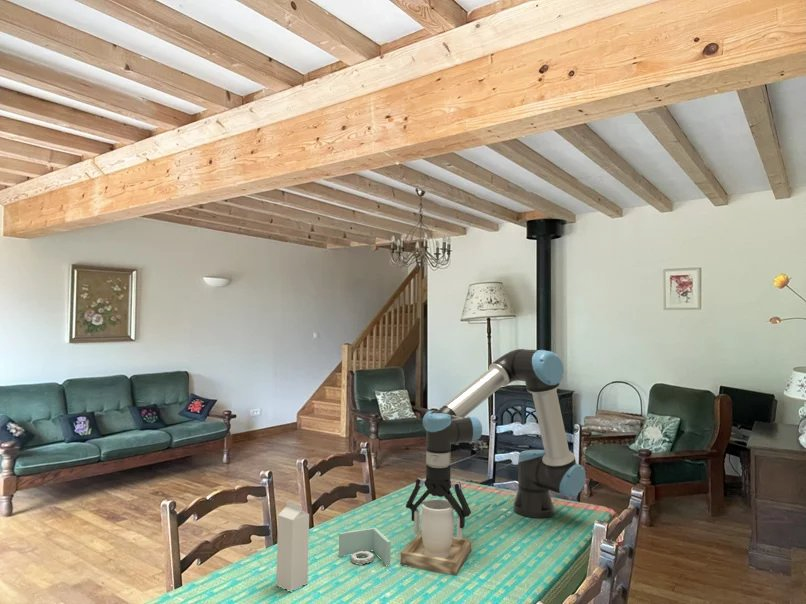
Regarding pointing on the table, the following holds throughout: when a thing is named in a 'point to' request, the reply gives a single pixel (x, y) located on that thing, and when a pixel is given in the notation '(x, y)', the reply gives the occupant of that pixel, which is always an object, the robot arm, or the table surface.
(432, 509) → the jar
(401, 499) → the table surface
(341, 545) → the l-shaped corner panel
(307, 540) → the milk
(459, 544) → the wooden tray
